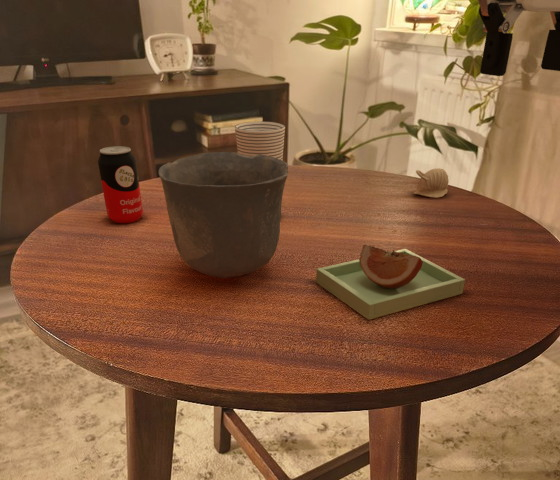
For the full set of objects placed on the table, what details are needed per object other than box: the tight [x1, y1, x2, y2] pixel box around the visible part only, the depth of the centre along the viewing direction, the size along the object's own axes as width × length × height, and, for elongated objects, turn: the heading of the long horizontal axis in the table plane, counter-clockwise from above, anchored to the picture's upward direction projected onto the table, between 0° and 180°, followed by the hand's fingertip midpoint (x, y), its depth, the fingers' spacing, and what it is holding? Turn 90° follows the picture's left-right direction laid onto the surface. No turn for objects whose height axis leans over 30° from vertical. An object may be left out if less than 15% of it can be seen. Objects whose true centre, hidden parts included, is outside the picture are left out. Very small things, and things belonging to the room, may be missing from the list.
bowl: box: [158, 151, 290, 279], centre depth 78 cm, size 18×18×15 cm
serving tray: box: [315, 248, 466, 321], centre depth 77 cm, size 16×13×2 cm
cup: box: [234, 120, 286, 161], centre depth 98 cm, size 8×8×16 cm
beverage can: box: [97, 145, 144, 224], centre depth 99 cm, size 6×6×12 cm
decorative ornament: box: [412, 167, 450, 199], centre depth 112 cm, size 4×8×5 cm, turn 109°
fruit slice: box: [358, 244, 423, 289], centre depth 76 cm, size 8×7×5 cm
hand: (523, 72), depth 64 cm, fingers open, 9 cm apart
